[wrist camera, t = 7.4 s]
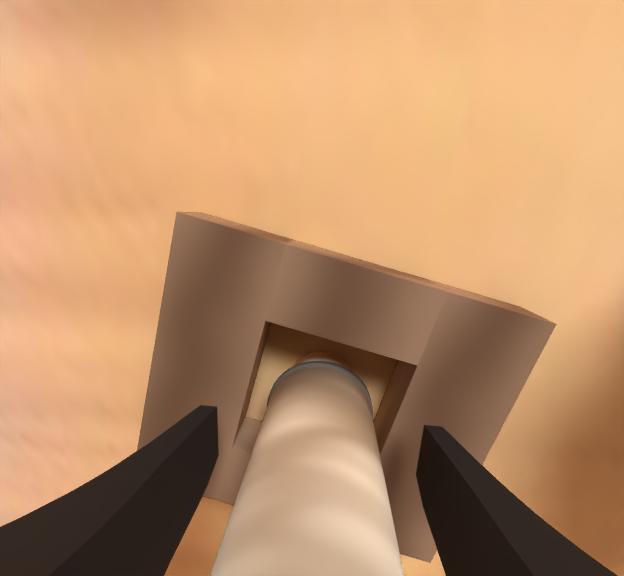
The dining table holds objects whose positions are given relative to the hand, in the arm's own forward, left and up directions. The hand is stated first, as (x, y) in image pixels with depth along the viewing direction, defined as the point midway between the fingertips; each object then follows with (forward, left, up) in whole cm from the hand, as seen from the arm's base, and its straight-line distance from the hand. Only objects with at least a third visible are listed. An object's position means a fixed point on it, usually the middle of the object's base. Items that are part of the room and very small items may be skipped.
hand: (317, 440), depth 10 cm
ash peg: (0, 0, -4) cm, 4 cm away
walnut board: (0, 0, -4) cm, 4 cm away
